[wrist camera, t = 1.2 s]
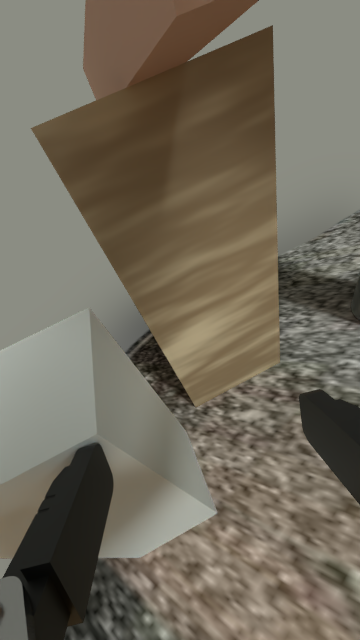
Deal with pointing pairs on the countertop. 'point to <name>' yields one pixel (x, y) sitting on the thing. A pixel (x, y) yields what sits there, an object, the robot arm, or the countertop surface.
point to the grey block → (93, 438)
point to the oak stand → (187, 206)
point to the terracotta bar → (148, 37)
